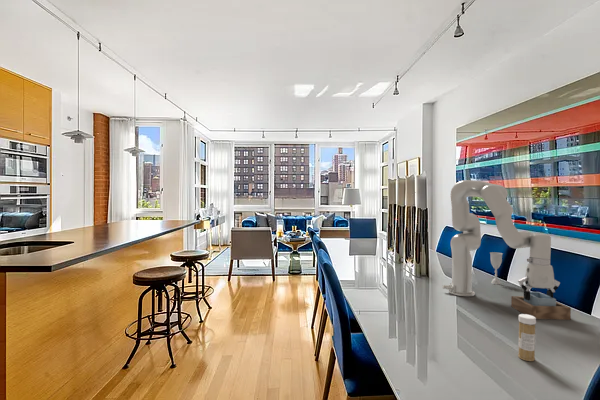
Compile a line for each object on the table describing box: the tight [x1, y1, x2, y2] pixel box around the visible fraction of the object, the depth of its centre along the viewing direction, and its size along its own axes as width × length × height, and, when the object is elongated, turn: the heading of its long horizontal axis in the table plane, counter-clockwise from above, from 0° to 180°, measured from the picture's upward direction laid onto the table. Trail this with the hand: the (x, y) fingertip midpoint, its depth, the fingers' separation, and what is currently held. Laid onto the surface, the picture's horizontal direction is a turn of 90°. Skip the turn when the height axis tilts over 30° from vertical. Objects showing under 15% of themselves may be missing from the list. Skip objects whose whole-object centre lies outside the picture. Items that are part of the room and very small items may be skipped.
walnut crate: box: [510, 295, 572, 321], centre depth 152 cm, size 16×16×5 cm
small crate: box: [524, 291, 557, 306], centre depth 152 cm, size 7×11×7 cm, turn 177°
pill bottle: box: [517, 313, 537, 362], centre depth 108 cm, size 5×5×14 cm
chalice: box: [489, 251, 504, 285], centre depth 206 cm, size 7×7×18 cm
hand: (538, 300), depth 153 cm, fingers open, 9 cm apart
